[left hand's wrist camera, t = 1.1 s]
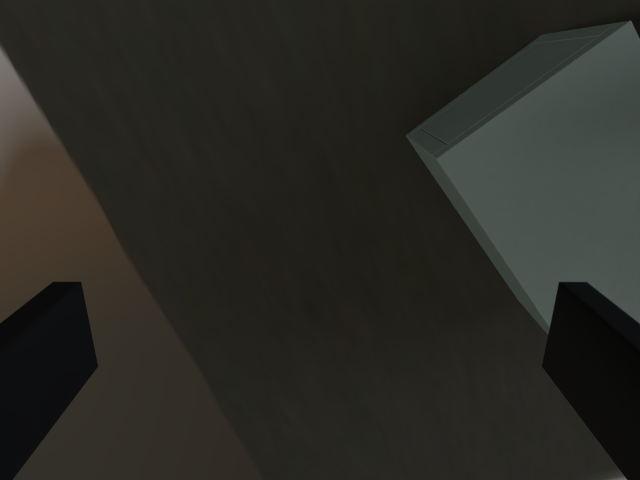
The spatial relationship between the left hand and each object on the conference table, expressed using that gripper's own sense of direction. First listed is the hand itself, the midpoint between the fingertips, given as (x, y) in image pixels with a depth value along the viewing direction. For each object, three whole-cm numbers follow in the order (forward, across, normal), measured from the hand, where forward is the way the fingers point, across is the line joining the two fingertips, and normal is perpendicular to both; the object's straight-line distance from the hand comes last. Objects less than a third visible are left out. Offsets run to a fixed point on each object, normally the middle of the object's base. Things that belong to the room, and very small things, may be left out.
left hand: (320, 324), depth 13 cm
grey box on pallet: (+24, +16, -1) cm, 29 cm away
